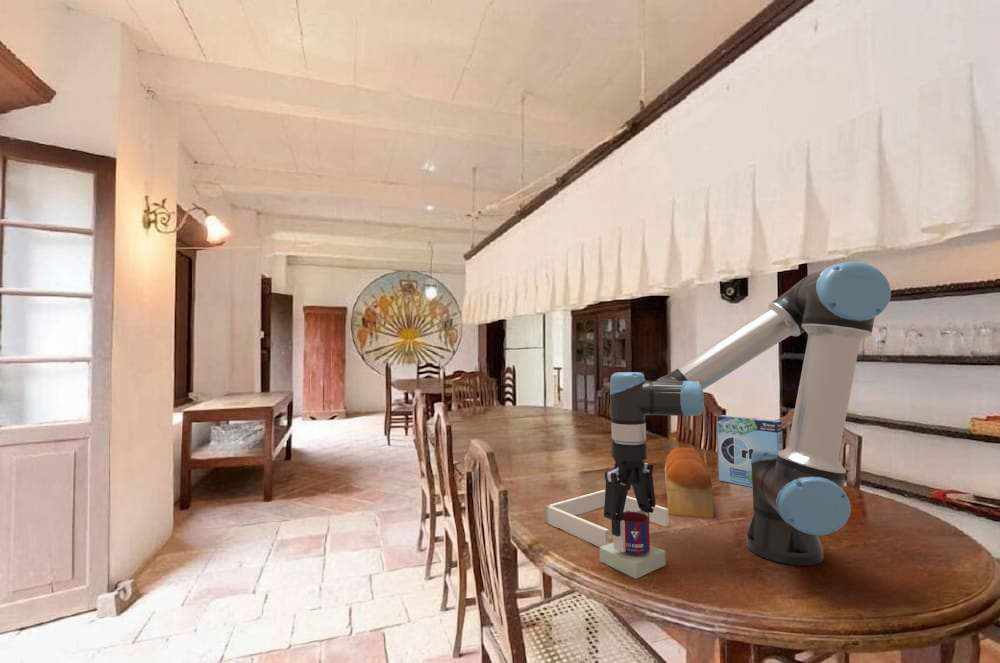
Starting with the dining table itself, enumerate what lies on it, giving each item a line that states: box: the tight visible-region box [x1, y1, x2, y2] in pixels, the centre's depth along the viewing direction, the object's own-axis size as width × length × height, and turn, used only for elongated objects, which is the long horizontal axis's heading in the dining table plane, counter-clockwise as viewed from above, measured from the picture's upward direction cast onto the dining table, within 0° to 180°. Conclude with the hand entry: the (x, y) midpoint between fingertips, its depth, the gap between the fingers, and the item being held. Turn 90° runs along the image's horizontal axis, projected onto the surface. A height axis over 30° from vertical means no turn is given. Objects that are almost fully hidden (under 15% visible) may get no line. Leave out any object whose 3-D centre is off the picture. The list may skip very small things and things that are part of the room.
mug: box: [622, 511, 651, 555], centre depth 102 cm, size 7×10×7 cm
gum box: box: [716, 414, 784, 488], centre depth 156 cm, size 20×5×23 cm, turn 39°
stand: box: [598, 542, 667, 579], centre depth 101 cm, size 10×10×3 cm
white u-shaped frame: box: [544, 489, 670, 548], centre depth 124 cm, size 22×24×4 cm
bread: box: [664, 446, 714, 519], centre depth 140 cm, size 25×12×15 cm, turn 161°
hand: (631, 544), depth 101 cm, fingers closed on mug, 7 cm apart
